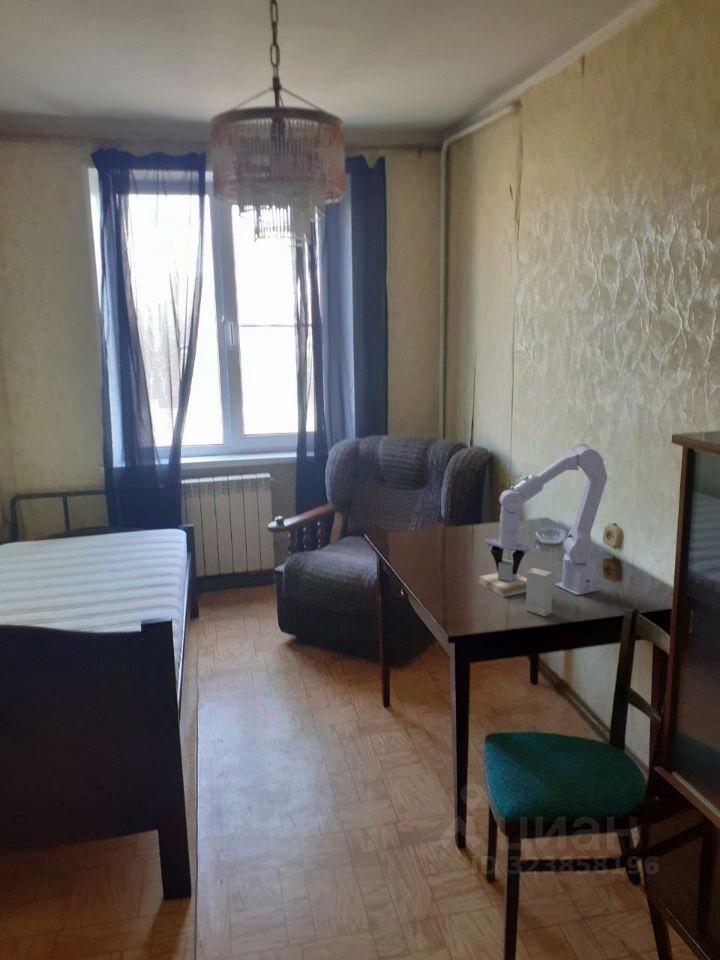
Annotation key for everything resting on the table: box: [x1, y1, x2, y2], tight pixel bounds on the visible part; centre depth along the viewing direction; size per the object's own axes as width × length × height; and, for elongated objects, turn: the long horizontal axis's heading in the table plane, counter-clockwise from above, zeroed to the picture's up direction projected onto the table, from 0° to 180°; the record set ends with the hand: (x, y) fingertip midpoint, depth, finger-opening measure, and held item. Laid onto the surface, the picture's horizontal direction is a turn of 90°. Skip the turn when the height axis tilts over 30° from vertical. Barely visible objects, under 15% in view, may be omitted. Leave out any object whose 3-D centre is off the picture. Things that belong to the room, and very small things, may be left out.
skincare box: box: [525, 567, 554, 617], centre depth 195 cm, size 6×4×12 cm
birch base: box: [478, 572, 527, 598], centre depth 215 cm, size 12×12×2 cm
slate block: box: [497, 558, 518, 581], centre depth 214 cm, size 4×4×5 cm
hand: (507, 571), depth 214 cm, fingers closed on slate block, 4 cm apart
